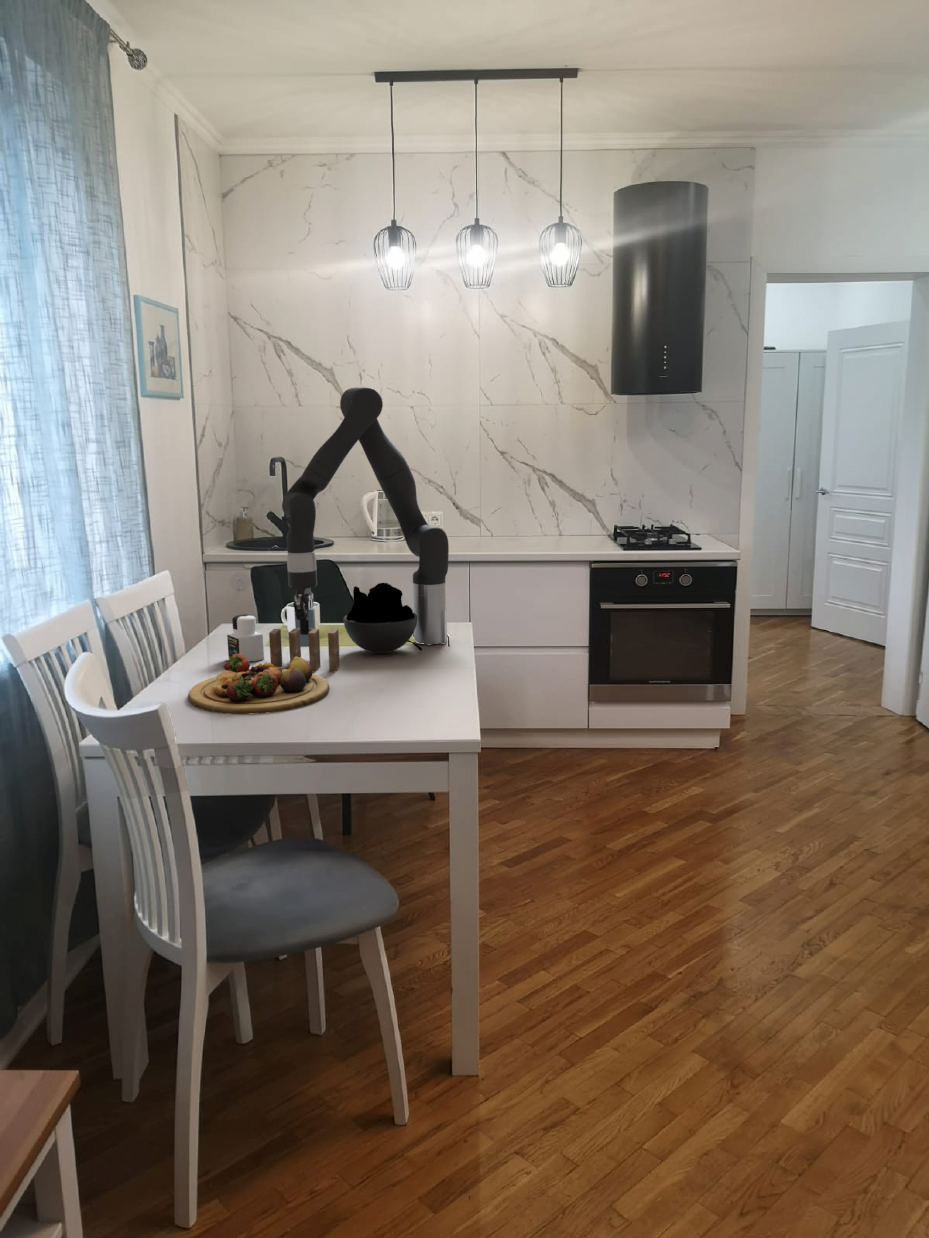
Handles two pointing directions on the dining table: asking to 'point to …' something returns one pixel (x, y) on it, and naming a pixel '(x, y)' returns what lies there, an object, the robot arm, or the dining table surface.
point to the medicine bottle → (245, 638)
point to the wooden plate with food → (259, 688)
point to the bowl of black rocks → (380, 619)
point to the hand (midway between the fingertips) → (305, 633)
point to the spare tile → (304, 638)
